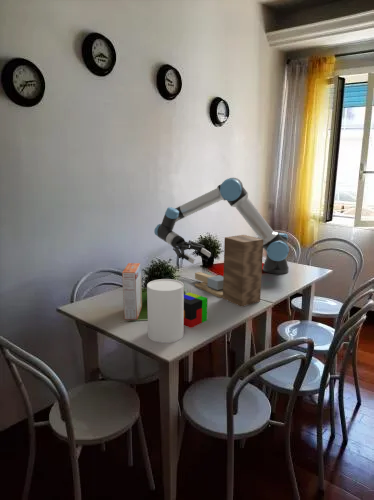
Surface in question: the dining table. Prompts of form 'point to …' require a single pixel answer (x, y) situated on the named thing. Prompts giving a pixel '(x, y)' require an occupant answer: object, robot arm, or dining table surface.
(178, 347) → the dining table surface
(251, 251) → the wooden block
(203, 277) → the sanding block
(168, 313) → the canister
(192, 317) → the puzzle toy
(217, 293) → the board
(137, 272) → the cracker box
